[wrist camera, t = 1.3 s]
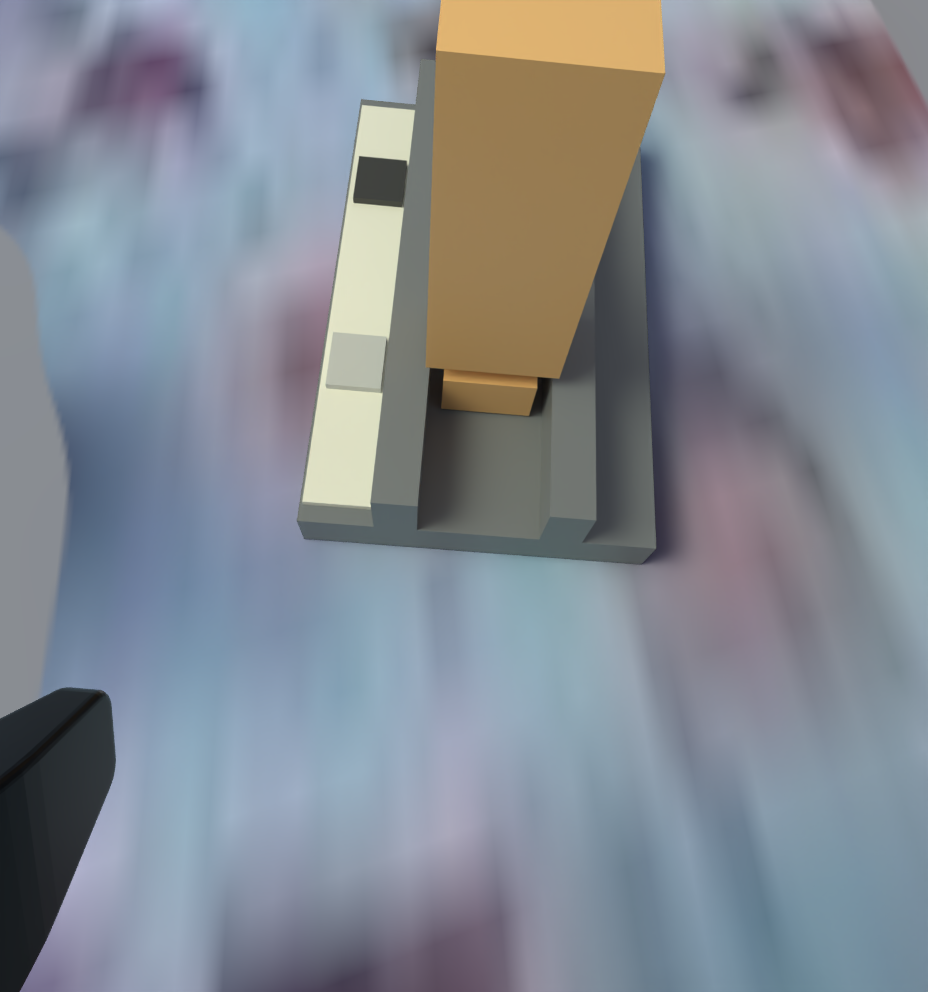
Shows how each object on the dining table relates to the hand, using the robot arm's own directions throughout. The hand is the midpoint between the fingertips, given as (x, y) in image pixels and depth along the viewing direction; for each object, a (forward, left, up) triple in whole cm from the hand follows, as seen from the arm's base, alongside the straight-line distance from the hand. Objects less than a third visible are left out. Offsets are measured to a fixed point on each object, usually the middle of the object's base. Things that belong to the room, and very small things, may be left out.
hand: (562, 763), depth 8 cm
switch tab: (+10, +5, -12) cm, 16 cm away
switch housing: (+13, +6, -13) cm, 20 cm away
